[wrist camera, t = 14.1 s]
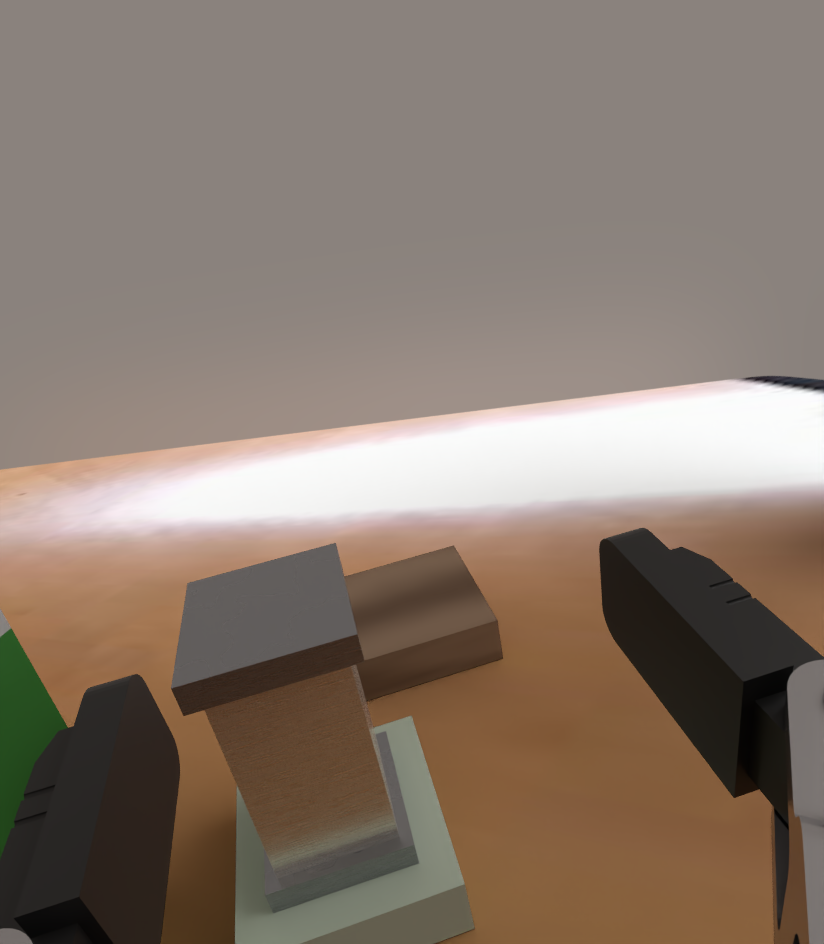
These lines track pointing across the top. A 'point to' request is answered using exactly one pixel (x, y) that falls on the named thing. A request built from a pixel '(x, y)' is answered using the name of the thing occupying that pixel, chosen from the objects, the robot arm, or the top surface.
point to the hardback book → (20, 725)
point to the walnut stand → (420, 622)
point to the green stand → (372, 902)
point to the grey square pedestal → (295, 722)
